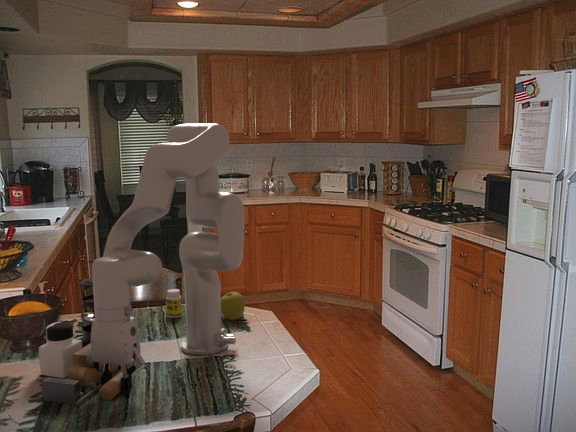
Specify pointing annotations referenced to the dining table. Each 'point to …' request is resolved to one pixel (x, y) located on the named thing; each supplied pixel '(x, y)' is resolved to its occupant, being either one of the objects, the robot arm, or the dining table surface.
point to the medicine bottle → (58, 350)
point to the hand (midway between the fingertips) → (117, 390)
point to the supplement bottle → (173, 303)
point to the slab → (82, 356)
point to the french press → (88, 318)
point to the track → (88, 379)
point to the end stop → (61, 390)
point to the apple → (232, 305)
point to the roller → (111, 387)
